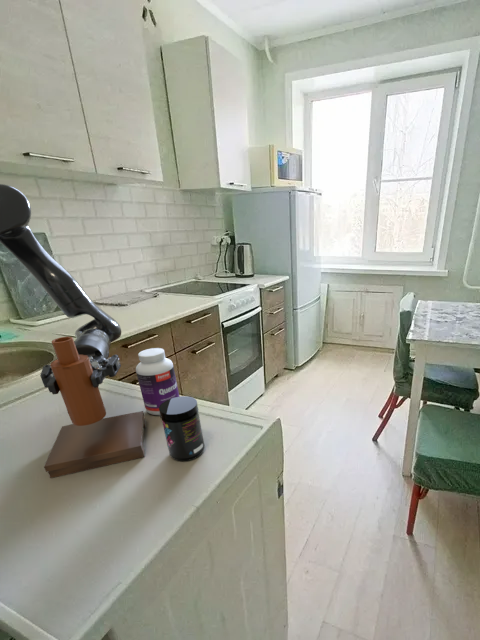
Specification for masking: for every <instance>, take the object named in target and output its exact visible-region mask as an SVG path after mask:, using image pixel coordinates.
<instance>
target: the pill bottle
mask: <svg viewBox="0 0 480 640" xmlns="http://www.w3.org/2000/svg"><path fill="white" fill-rule="evenodd" d="M137 356H138V360H139V361H140V362H138V364H137V365H136V367H135V373H136V377H137V381H138V385H139V388H140V393H141V395H142V396H141V397H142V401H143V406H144V409H145V411H146V413H148V414H149V415H152V416H160V411H159V406H160V405H161V404H162V403H163V402H165V401H167V400H169V399H171V398H175V397H180V393H179V388H178V382H177V377H176V373H175V372H176V371H175V368H174V363H173V361H172V360H171V359H170V358H167V357H166V353H165V349H164V348H161V347H151V348H146V349H144V350H141V351H139V353H138V354H137Z"/></svg>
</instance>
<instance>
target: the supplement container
mask: <svg viewBox="0 0 480 640" xmlns="http://www.w3.org/2000/svg"><path fill="white" fill-rule="evenodd" d="M159 411H160V415H159V416H160V419H161V423H162V427H163V431H164V435H165V441H166V445H167V448H168V453H169V456H170V457H171V458H172V459H173V460H175V461H178V462H188V461H192V460H194V459H196V458H198V457H200V456H201V455H202V454H203V453H204V450H205V439H204V434H203V429H202V424H201V418H200V413H199V406H198V400H197V399H196V398H195V397H193V396H187V395H185V396H183V395H182V396H179V397H175V398H171V399H169V400H167V401H165V402H163V403H162V404H161V405H160V406H159Z"/></svg>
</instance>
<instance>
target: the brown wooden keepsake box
mask: <svg viewBox="0 0 480 640" xmlns="http://www.w3.org/2000/svg"><path fill="white" fill-rule="evenodd" d="M146 428H147V422H146V419H145V413H144V410H141V411H140V410H139V411H136V412H129V413H125V414H124V413H123V414H120V415H115V416H109V417H104V418H103V419H101V420H100V421H98V422H95V423H93V424H90V425H84V426H77V425H74V424H73V423H72V424H68V425H62V426H61V427H60V429H59V432H58V435H57V436H56V439H55V441H54V443H53V445H52V448H51V450H50V452H49V454H48V456H47V459H46V461H45V462H44V465H43V469H44V470H45V472H46V473H48V476H49V478H50V479H53V478H57V477H62V476H66V475H70V474H74V473H75V474H76V473H79V472H84V471H89V470H92V469H93V470H94V469H97V468H102V467H105V466H110V465H115V464H119V463H124V462H129V461H134V460H138V459H143V458H145V457H146V455H145V454H146V453H145V451H146V450H145V446H144V429H146Z"/></svg>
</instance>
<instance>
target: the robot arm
mask: <svg viewBox="0 0 480 640" xmlns="http://www.w3.org/2000/svg"><path fill="white" fill-rule="evenodd" d="M31 219H32V208H31V204H30V201H29V200H28V198H27V197H26V195H25V194H24V193H23V192H22V191H21V190H19V189H17V188H15V187H14V186H11V185H8V184H4V183H0V243H1V244H2V245H3V247H5V248H6V249H7V250H8V251H9V252H10V253H11V254H12V255H13V256H14V257H15V258H16V259H17V260H18V261H19V262H20V263H21V264H22V265H23V266H24V267H25V268H26V269H27V271H28V272H29V273H30V274H31V275H32V276H33V278H35V280H36V281H37V282H38V283H39V284H40V286H41V287H42V289H44V291H45V292H46V293H47V294H48V296H49V297H50V298H51V299H52V301H53V302H54V303H55V304H56V305H57V307H58V308H59V309H60V311H61V312H62V313H63V314H64V315H65V316H66V317H67V318H69V319H74V318H77V317H81V316H85V315H87V316H89V317H92V318H93V319H92V320H89V321H88V322H86V323H85V324H83V325H81V326H80V327H78V328H77V329H75V332H74V335H75V339H74V343H75V346H76V349H77V352H78V355H81V354H83V355H87V356H88V357H89V360H90V363H91V366H92V370H93V373H92V375H91V381H92V384H93V387H94V388H95V387H98V388H99V386H100V385H102V384H103V382H104V380H105V379H106V377H109V378H114V377H116V375H117V374H118V372H119V371H120V369H121V367H122V364H121V361H120V357H119V355H118V354H113V355H111V356H110V349H111V344H112V343H113V342H115V341H117V340H118V339H120V338H121V336H122V328H121V326H120V324H119V322H118V321H116V320H115V318H113V317H112V316H111V315H109V314H108V313H107V312H105V311H104V310H103V309H102V308H100V307H99V306H98V305H97V304H96V303H95V302H94V301H93V300H92V299H91V298H90V296H89V295H88V294H87V292H86V291H85V290H84V289H83V287H82V286H81V284H79V282H78V281H77V280H76V279H75V278H74V276H73V275H72V274H71V273H70V272H69V271H68V270H67V269H66V268H65V267H63V265H61V264H60V263H59V262H58V261H57V260H56V259H54V257H52V255H50V254H49V252H47V250H46V249H45V248H44V247H43V246H42V244H40V242H39V241H38V239H37V238H36V236H35V234H34V233H33V231H32V229H31V226H30V225H29V223H31ZM39 376H40V379H41V381H42V384H43V386H44V388H45V389H48V392H49V393H51V394H52V395H54V396H55V395H58V394H59V393H60V390H59V387H58V385H57V382H56V379H55V377H54V374H53V371H52V369H51V366H50V364H45V365H43V366H42V369H41V372H40V375H39Z"/></svg>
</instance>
